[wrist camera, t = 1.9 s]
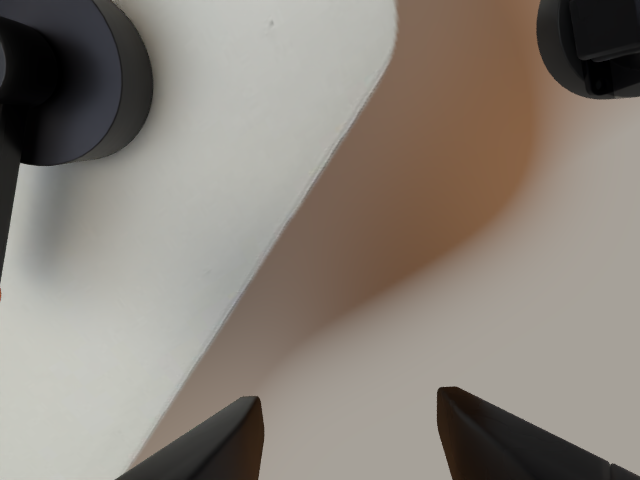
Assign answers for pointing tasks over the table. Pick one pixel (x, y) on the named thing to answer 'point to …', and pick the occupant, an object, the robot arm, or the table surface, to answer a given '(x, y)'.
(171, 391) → the table surface
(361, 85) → the table surface
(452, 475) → the robot arm
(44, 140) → the base
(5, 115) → the crank handle
